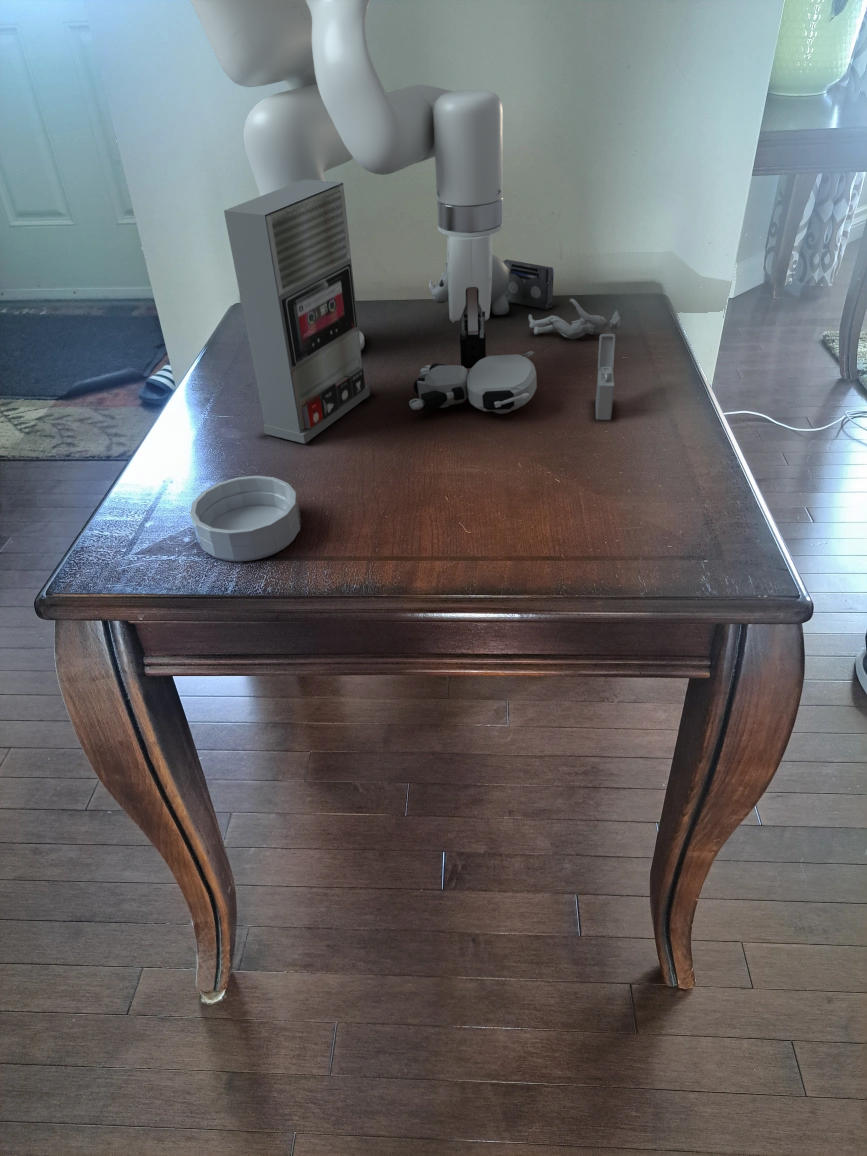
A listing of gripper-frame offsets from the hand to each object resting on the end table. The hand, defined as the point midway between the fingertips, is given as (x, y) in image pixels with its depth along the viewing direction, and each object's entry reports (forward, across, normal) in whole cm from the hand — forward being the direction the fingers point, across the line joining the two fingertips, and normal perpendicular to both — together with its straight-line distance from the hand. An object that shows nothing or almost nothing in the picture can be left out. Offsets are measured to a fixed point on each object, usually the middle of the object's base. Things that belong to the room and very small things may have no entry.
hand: (473, 365), depth 107 cm
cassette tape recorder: (+2, +10, -19) cm, 21 cm away
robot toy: (+2, +8, 0) cm, 8 cm away
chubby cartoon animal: (+2, -23, 0) cm, 23 cm away
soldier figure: (+2, -12, +14) cm, 18 cm away
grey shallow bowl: (+2, +34, -23) cm, 41 cm away
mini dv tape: (+2, -26, +9) cm, 27 cm away
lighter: (+2, +10, +15) cm, 18 cm away
